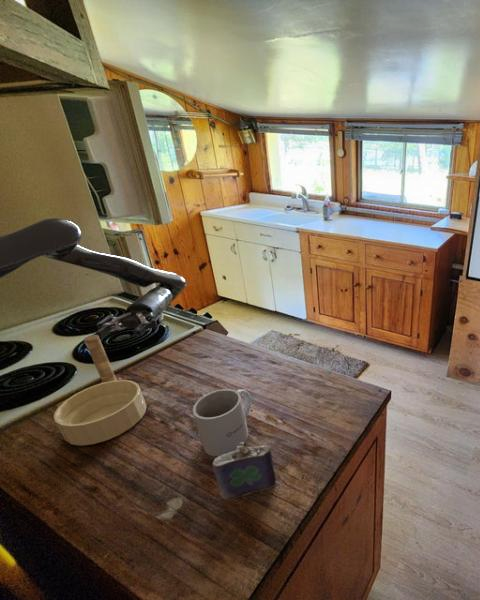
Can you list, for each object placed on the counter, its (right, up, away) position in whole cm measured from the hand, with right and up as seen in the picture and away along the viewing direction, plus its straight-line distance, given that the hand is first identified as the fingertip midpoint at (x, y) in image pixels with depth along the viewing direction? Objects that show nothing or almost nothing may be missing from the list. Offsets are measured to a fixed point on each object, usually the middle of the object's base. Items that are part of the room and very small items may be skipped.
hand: (117, 335), depth 86 cm
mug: (+39, -20, -15) cm, 46 cm away
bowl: (+10, -18, -14) cm, 25 cm away
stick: (+1, -13, -3) cm, 13 cm away
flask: (+48, -26, -26) cm, 60 cm away
